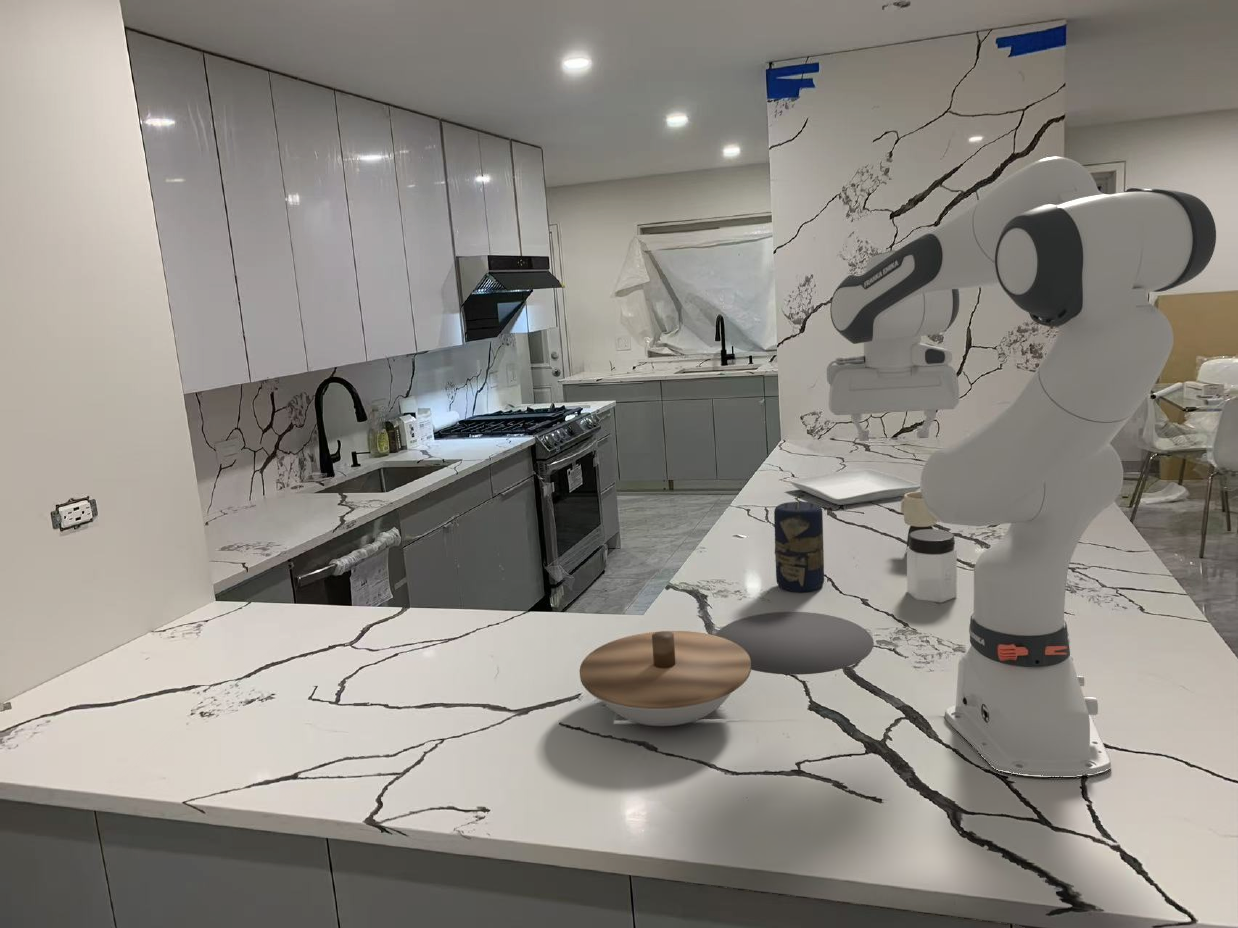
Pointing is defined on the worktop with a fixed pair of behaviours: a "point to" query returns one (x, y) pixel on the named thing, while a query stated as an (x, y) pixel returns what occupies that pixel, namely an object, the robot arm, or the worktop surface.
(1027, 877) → the worktop surface
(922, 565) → the jar
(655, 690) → the lid
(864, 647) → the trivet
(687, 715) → the soup bowl
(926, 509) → the character mug
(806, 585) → the canister
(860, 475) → the square plate
